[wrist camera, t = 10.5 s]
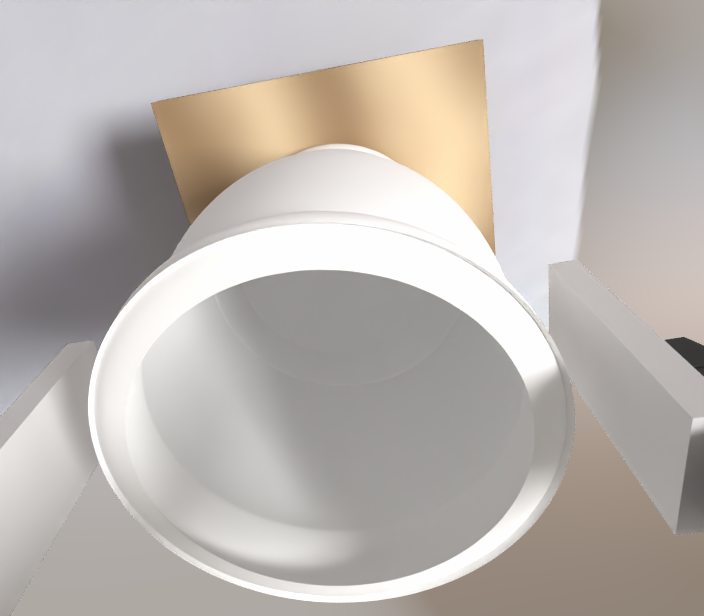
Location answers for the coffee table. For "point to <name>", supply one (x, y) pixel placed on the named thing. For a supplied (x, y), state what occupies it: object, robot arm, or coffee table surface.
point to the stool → (343, 125)
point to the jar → (332, 387)
